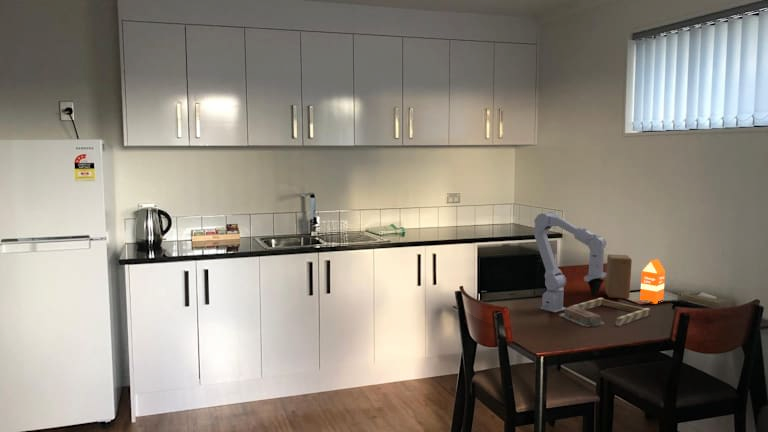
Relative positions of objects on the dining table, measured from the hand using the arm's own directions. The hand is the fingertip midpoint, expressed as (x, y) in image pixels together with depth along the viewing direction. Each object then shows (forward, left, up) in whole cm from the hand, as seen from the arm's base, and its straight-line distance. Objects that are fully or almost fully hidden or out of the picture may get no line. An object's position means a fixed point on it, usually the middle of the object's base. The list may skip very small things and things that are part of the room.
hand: (594, 295), depth 271 cm
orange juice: (+47, -2, -10) cm, 48 cm away
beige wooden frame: (+9, -2, -9) cm, 13 cm away
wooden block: (+42, +13, -10) cm, 45 cm away
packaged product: (-9, 0, -10) cm, 14 cm away
